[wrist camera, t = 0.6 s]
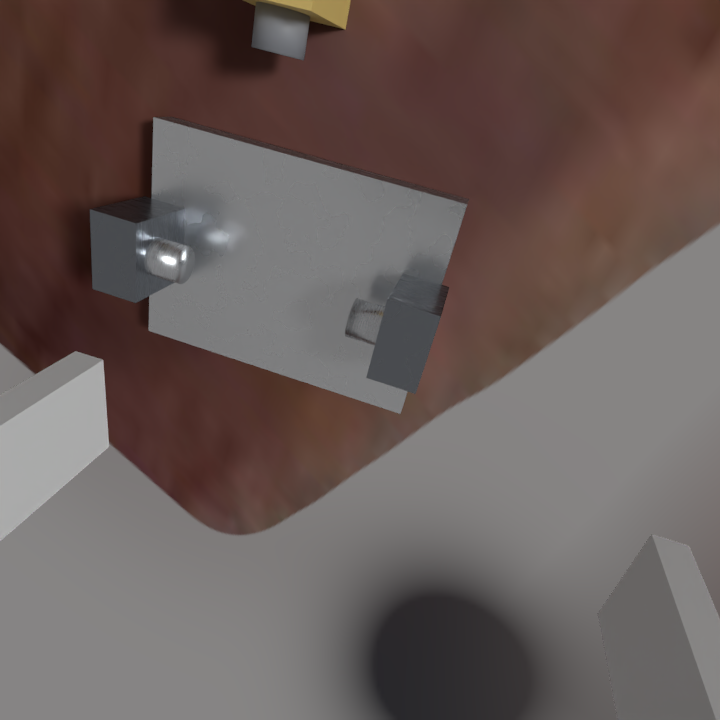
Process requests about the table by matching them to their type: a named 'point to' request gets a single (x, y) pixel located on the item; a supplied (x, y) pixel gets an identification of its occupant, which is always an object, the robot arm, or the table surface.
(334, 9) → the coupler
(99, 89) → the table surface
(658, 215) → the table surface
